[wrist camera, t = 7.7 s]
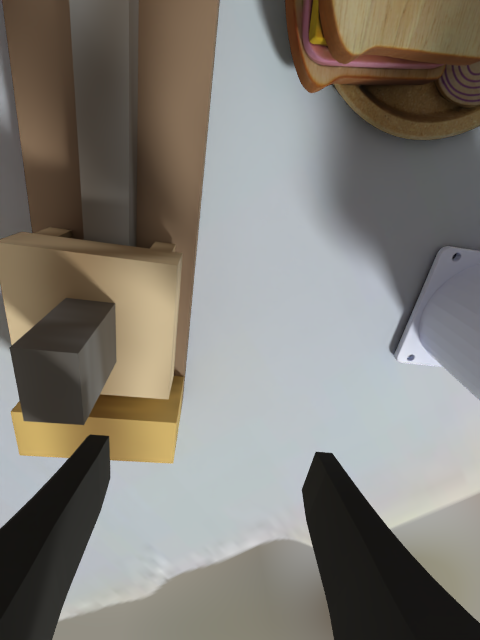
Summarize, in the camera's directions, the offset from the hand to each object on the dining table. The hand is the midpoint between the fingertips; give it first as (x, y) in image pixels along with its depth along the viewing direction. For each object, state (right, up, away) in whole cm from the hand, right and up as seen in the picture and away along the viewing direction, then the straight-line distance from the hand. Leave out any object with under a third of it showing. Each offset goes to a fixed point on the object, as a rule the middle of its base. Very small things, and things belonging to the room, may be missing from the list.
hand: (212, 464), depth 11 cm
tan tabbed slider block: (-6, +6, +6) cm, 10 cm away
